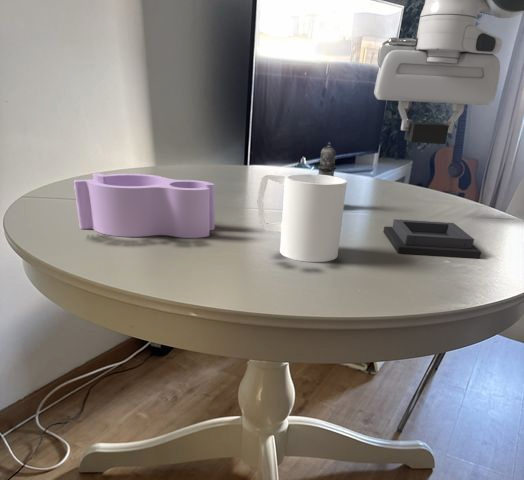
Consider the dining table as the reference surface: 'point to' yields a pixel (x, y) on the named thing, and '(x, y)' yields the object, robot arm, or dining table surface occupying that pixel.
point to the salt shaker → (327, 161)
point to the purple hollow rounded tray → (145, 205)
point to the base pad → (431, 239)
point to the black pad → (427, 133)
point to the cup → (307, 215)
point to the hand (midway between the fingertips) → (426, 131)
